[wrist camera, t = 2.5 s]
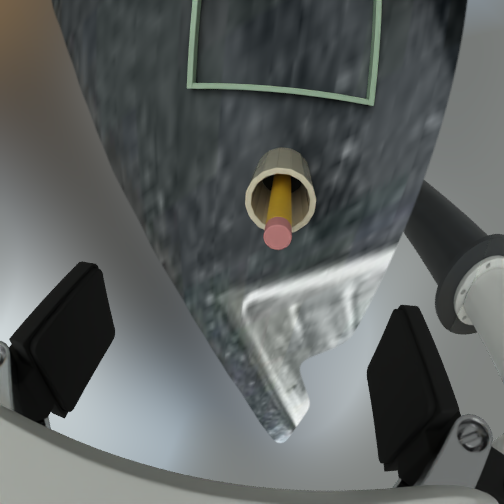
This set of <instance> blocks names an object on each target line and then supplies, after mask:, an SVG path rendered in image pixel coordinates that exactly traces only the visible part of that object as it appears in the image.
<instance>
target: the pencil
mask: <svg viewBox="0 0 504 504" xmlns="http://www.w3.org/2000/svg"><path fill="white" fill-rule="evenodd" d="M291 239H292V203H291V175H287V174H274V179H273V184H272V190H271V196H270V202H269V207H268V213H267V219H266V225H265V230H264V241H265V243H266V244H267V245H268V246H269V247H270V248H272V249H276V250H280V249H284V248H286V247H287V246H288V245H289V244H290V242H291Z"/></svg>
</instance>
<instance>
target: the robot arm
mask: <svg viewBox="0 0 504 504" xmlns="http://www.w3.org/2000/svg"><path fill="white" fill-rule="evenodd" d="M453 304H454V310H455V313H456V315H457V316H458V318H459V319H460V321H462V322H463V323H465V324H468V325H474V327H475V329H476V331H477V333H478V334H479V336H480V338H481V340H482V341H483V344H484V345H485V347H486V349H487V351H488V353H489V355H490V357H491V359H492V361H493V363H494V365H495V367H496V369H497V371H498V373H499V375H500V377H501V379H502V381H503V383H504V256H500V255H496V256H491V257H487V258H485V259H483V260H481V261H480V262H478V263H477V264H475V265H474V266H473V267H472V268H471V269H470V270H469V271H468V272H467V273H466V274H465V276H464V277H463V278H462V280H461V281H460V283H459V285H458V287H457V289H456V292H455V296H454V302H453ZM114 336H115V328H114V324H113V320H112V316H111V311H110V307H109V303H108V298H107V293H106V289H105V283H104V278H103V273H102V271H101V270H100V269H99V268H98V266H97V265H96V264H93V263H87V262H79V263H78V264H77V265H76V266H75V267H74V268H73V269H72V270H71V271H70V272H69V273H68V274H67V275H66V276H65V277H64V278H63V279H62V280H61V281H60V283H59V284H58V285H57V286H56V287H55V288H54V289H53V290H52V291H51V292H50V293H49V294H48V295H47V296H46V298H45V299H44V300H43V301H42V302H41V303H40V304H39V305H38V306H37V307H36V309H35V310H34V311H33V312H32V313H31V314H30V315H29V317H28V318H27V319H26V320H25V321H24V322H23V323H22V325H21V326H20V327H19V328H18V329H17V330H16V332H15V333H14V334H13V335H12V336H11V338H10V341H11V343H12V345H11V346H10V347H8V346H7V344H6V343H4V342H2V341H0V504H504V434H502V435H501V436H500V437H498V438H497V439H496V440H494V441H493V437H492V432H491V429H490V427H489V426H488V424H487V423H486V422H485V421H484V420H483V419H481V418H480V417H478V416H476V415H471V414H467V415H463V416H461V414H460V412H459V407H458V404H457V401H456V398H455V395H454V393H453V390H452V387H451V384H450V381H449V379H448V376H447V373H446V371H445V368H444V365H443V363H442V360H441V358H440V355H439V353H438V350H437V348H436V345H435V343H434V340H433V338H432V336H431V333H430V331H429V329H428V327H427V324H426V322H425V320H424V317H423V315H422V313H421V311H420V309H419V308H418V307H417V306H409V305H400V306H399V308H398V309H394V310H393V312H392V314H391V317H390V319H389V322H388V324H387V326H386V329H385V331H384V334H383V336H382V338H381V340H380V342H379V344H378V347H377V349H376V351H375V353H374V355H373V357H372V359H371V362H370V364H369V366H368V369H367V380H368V386H369V392H370V398H371V405H372V411H373V418H374V425H375V433H376V440H377V448H378V457H379V461H380V463H384V471H396V470H398V474H399V479H398V481H397V482H396V484H395V485H394V486H393V488H390V489H375V490H349V491H309V490H307V491H306V490H288V489H275V488H274V489H273V488H264V487H254V486H245V485H238V484H232V483H225V482H219V481H213V480H208V479H203V478H197V477H192V476H188V475H183V474H179V473H175V472H170V471H167V470H163V469H159V468H155V467H152V466H148V465H145V464H141V463H138V462H134V461H131V460H128V459H125V458H122V457H119V456H116V455H113V454H110V453H108V452H105V451H102V450H99V449H96V448H94V447H91V446H89V445H86V444H84V443H81V442H79V441H76V440H74V439H71V438H69V437H67V436H65V435H62V434H60V433H58V432H56V431H54V430H51V427H50V423H49V418H48V416H49V414H50V412H52V413H53V414H56V415H58V416H60V417H63V418H65V417H66V415H67V413H68V412H71V411H72V410H73V409H74V407H75V406H76V404H77V402H78V400H79V398H80V396H81V395H82V393H83V391H84V389H85V387H86V385H87V384H88V382H89V380H90V379H91V377H92V375H93V373H94V371H95V370H96V368H97V366H98V365H99V363H100V361H101V359H102V358H103V356H104V354H105V353H106V351H107V349H108V348H109V346H110V344H111V343H112V341H113V339H114ZM492 441H493V442H492Z"/></svg>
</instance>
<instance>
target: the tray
mask: <svg viewBox="0 0 504 504" xmlns="http://www.w3.org/2000/svg"><path fill="white" fill-rule="evenodd" d="M200 11H201V0H193V3H192V14H191V26H190V40H189V55H188V73H187V89H236V90H255V91H269V92H280V93H290V94H300V95H308V96H316V97H323V98H330V99H336V100H343V101H349V102H354V103H360V104H365V105H370V106H374V100H375V91H376V81H377V71H378V60H379V47H380V32H381V11H382V0H374V4H373V26H372V42H371V55H370V67H369V78H368V87H367V97H366V99H363V98H358V97H352V96H347V95H341V94H335V93H328V92H321V91H314V90H306V89H297V88H288V87H277V86H265V85H249V84H225V83H196V67H197V51H198V36H199V23H200Z"/></svg>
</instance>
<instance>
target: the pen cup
mask: <svg viewBox="0 0 504 504" xmlns="http://www.w3.org/2000/svg"><path fill="white" fill-rule="evenodd" d="M274 174H287V175H291V176H293V177H294V178H296V179H298V180H300V181H301V182H302V185H301V186H300V188H299V189H297V190H296V191H294V192H293V193H291V203H292V232H295V231H298V230H299V229H300V228H302V227H303V226H305V225H306V224H307V223H308V222H309V220H310V219H311V217H312V216H313V214H314V212H315V205H316V196H315V192H314V187H313V183H312V179H311V175H310V171H309V167H308V164H307V161H306V160H305V159H304V158H303V157H302V155H301V154H300V153H298V152H296V151H294V150H292V149H290V148H276V149H273V150H270V151H268V152H267V153H266V154H264V155H263V156H262V157H261V159H260V161H259V162H258V164H257V166H256V169H255V171H254V174H253V176H252V179H251V181H250V183H249V186H248V188H247V191H246V199H245V206H246V209H247V211H248V214H249V217H250V218H251V219H252V220H253V221H254V223H255V224H256V225H257V226H258V227H260V228H262V229H264V230H265V225H266V219H267V213H268V207H269V202H270V196H271V191H270V190H268V188H267V187H266V186H265V185H264V184H263V181H262V180H263V179H264V178H265V177H267V176H270V175H274Z"/></svg>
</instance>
